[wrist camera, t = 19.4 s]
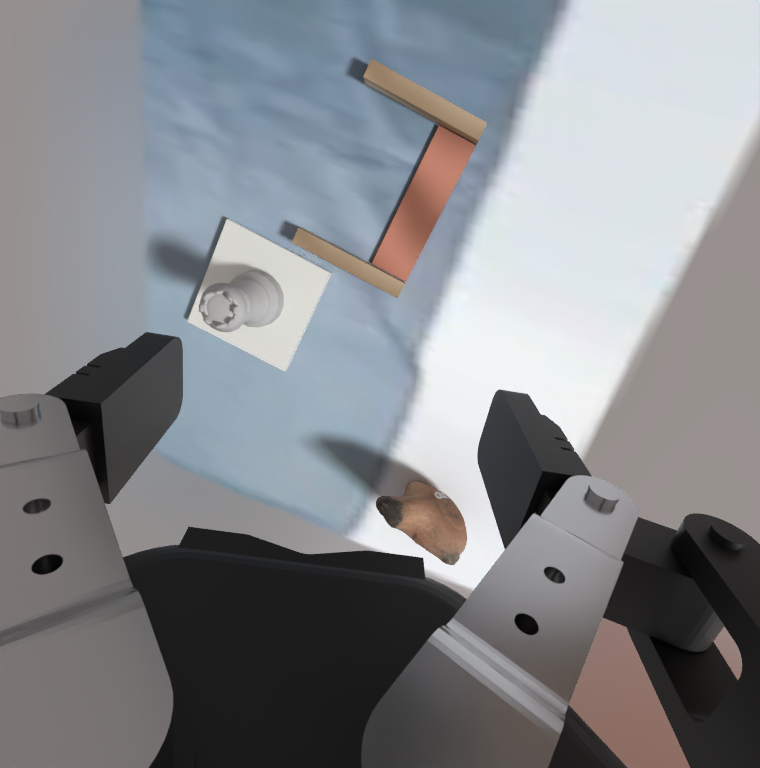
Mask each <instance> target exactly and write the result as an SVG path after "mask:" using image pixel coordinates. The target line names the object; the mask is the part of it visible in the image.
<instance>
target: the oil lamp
mask: <svg viewBox="0 0 760 768" xmlns="http://www.w3.org/2000/svg"><path fill="white" fill-rule="evenodd" d="M376 507H377V509H378V510H379V512H380V514H381V515H383V516H384V518H385V520H386V521H387V523H388V524H389V525H390V526H391V527H393V528H396V529H399V530H401V531H403V532H404V533H406V534H407V535H408V536H409V537H410V538H412V539H413V540H414V541H415V542H416V543H417V544H418V545H420V546H422V547H423V548H425V549H426V550H427V551H429V552H430V553H432V554H433V555H435V556H436V557H438V558H439V559H440V560H442V561H443V562H444V563H446V564H449V565H454V564H455V563H456V562H457V561H458V559H459V555H460V554H461V553H462V552H463V551H464V549H465V546H466V541H467V533H466V527H465V522H464V519H463V517H462V514H461V513H460V511H459V509H458V508H457V506H456V505H455V504H454V502H453V501H452V500H451V499H450V498H449V497H448V496H447V495H445V494H444V493H442V492H441V491H439V490H437V489H435V488H433V487H431V486H429V485H426V484H424V483H422V482H417V481H413V482H410V483H408V485H407V489H406V492H405V494H404V496H403V497H390V496H382V497H379V498H378V499H377V501H376Z"/></svg>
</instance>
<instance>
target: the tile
mask: <svg viewBox="0 0 760 768" xmlns="http://www.w3.org/2000/svg"><path fill="white" fill-rule="evenodd" d="M250 270H257V271H263V272H265V273H267V274H269V275H271V276H272V277H273V278H274V279H275V280H276V281H277V282H278V283H279V284H280V287H281V289H282V292H283V294H284V307H283V309H282V312H281V314H280V316H279V317H278V318H277V319H276V320H275V321H274V322H273V323H271V324H268V325H266V326H263V327H248V326H246V325H241V326H240V327H239V328H238V329H237V330H234V331H231V332H220V331H217V330H215V329H213V328H211V327H210V326H209V325H207V324H206V323H205V322H204V321H203V320H202V319H204V318H203V316H202V314H201V312H199V304H200V300H201V297H202V294H203V292H204V291H205V290H206V289H207V288H208V287H209V286H211V285H213V284H216V283H228V284H229V283H230V282H231V281H232V280H233V279H234V278H235V277H236V276H237V275H239V274H242V273H244V272H247V271H250ZM331 275H332V273H331V272H330V271H328V270H326V269H324V268H322V267H320V266H318V265H316V264H314V263H312V262H310V261H309V260H307V259H305V258H303V257H301V256H299V255H297V254H295V253H293V252H291V251H290V250H288V249H286V248H284V247H282V246H280V245H278V244H276V243H274V242H272V241H271V240H269V239H267V238H265V237H263V236H261V235H259V234H257V233H255V232H253V231H251V230H250V229H248V228H246V227H244V226H242V225H240V224H238V223H236V222H234V221H232V220H231V219H227V220H226V222H225V225H224V228H223V230H222V233H221V235H220V238H219V241H218V243H217V246H216V248H215V251H214V254H213V256H212V259H211V261H210V264H209V267H208V269H207V272H206V274H205V277H204V279H203V282H202V285H201V287H200V290H199V292H198V295H197V298H196V300H195V303H194V305H193V308H192V311H191V313H190V316H189V318H188V321H187V322H189V323H191V324H193V325H195V326H197V327H199V328H201V329H203V330H205V331H207V332H209V333H211V334H213V335H214V336H216V337H218V338H220V339H222V340H224V341H226V342H228V343H230V344H232V345H234V346H236V347H238V348H240V349H242V350H244V351H246V352H248V353H250V354H252V355H254V356H256V357H258V358H259V359H261V360H263V361H265V362H267V363H269V364H271V365H273V366H275V367H277V368H279V369H281V370H283V371H286V370H287V369H288V367H289V365H290V363H291V360H292V358H293V356H294V354H295V352H296V350H297V348H298V345H299V343H300V341H301V339H302V337H303V335H304V333H305V330H306V328H307V326H308V324H309V322H310V320H311V317H312V315H313V313H314V311H315V309H316V307H317V305H318V302H319V300H320V298H321V296H322V294H323V292H324V290H325V287H326V285H327V283H328V281H329V279H330V277H331Z"/></svg>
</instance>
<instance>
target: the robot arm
mask: <svg viewBox="0 0 760 768" xmlns="http://www.w3.org/2000/svg"><path fill="white" fill-rule="evenodd" d="M182 398H183V349H182V342H181V339H180V338H179V337H174V336H168V335H162V334H155V333H149V332H146V333H144V334H143V335H142V336H140V337H139V338H138V339H136V340H135V341H134V342H133V343H131V344H130V345H128V346H127V347H126V348H118V349H115V350H112V351H109V352H106V353H103V354H100V355H99V356H98V357H96V358H95V359H93V360H92V361H91V362H90V363H88V364H87V366H84V367H82V368H81V369H79V370H78V371H77V372H76V374H72V375H71V376H70V377H68V378H67V379H65V380H64V381H63V382H61V383H60V384H58V385H57V386H56V387H54V388H53V389H52V390H50V391H49V392H47V393H46V394H18V395H11V396H6V397H2V398H0V768H627V767H626V766H625V765H624V764H623V763H622V761H621V760H620V759H619V758H618V757H617V756H616V755H615V754H614V753H613V752H612V751H611V750H610V749H609V748H608V746H607V745H606V744H605V743H604V742H603V741H602V740H601V739H600V738H599V737H598V736H597V735H596V734H595V732H593V730H592V729H590V727H589V726H588V725H587V724H586V723H585V722H584V721H583V720H582V719H581V718H580V717H579V715H578V714H577V713H576V712H575V711H574V710H573V709H572V708H571V707H570V706H569V702H570V700H571V697H572V695H573V692H574V689H575V687H576V684H577V682H578V679H579V677H580V674H581V671H582V669H583V666H584V664H585V661H586V659H587V656H588V653H589V651H590V648H591V646H592V643H593V641H594V638H595V635H596V633H597V630H598V628H599V625H600V623H601V620H602V617H603V618H606V619H608V620H611V621H613V622H616V623H618V624H621V625H623V626H626V627H627V629H628V632H629V634H630V636H631V639H632V641H633V643H634V645H635V647H636V650H637V652H638V654H639V656H640V658H641V661H642V663H643V665H644V667H645V669H646V671H647V673H648V676H649V678H650V680H651V682H652V685H653V687H654V689H655V691H656V693H657V696H658V698H659V700H660V702H661V704H662V706H663V709H664V711H665V713H666V715H667V717H668V720H669V722H670V724H671V726H672V728H673V731H674V733H675V735H676V737H677V739H678V741H679V744H680V746H681V748H682V750H683V753H684V755H685V757H686V759H687V761H688V763H689V766H690V768H760V544H759V543H758V542H757V541H756V540H754V539H753V538H752V537H751V536H749V535H748V534H747V533H745V532H744V531H742V530H741V529H739V528H737V527H736V526H734V525H732V524H730V523H728V522H726V521H724V520H721V519H718V518H716V517H713V516H709V515H704V514H689V515H687V516H686V517H685V518H684V520H683V522H682V523H681V525H680V527H679V528H678V530H674V529H671V528H668V527H665V526H662V525H659V524H656V523H653V522H650V521H648V520H645V519H642V518H639V517H638V516H639V510H638V507H637V505H636V503H635V502H634V501H633V499H632V498H631V497H630V496H629V495H627V494H626V493H625V492H624V491H622V490H621V489H619V488H618V487H616V486H614V485H612V484H611V483H608V482H606V481H603V480H601V479H598V478H595V477H592V476H591V474H590V473H589V471H588V470H587V468H586V467H585V465H584V464H583V462H582V461H581V459H580V457H579V456H578V454H577V453H576V452H574V448H573V447H572V445H571V444H570V442H568V441H567V438H566V436H565V434H564V433H563V431H562V430H561V428H560V427H559V426H558V425H556V424H555V423H554V422H553V421H551V420H550V419H549V418H548V417H546V416H545V415H541V414H540V413H539V411H538V409H537V408H536V406H535V405H534V403H533V401H532V400H531V398H530V396H529V395H528V394H524V393H517V392H511V391H505V390H498V391H497V392H496V393H495V395H494V397H493V400H492V403H491V406H490V410H489V413H488V416H487V419H486V422H485V426H484V429H483V432H482V435H481V438H480V442H479V446H478V465H479V468H480V471H481V474H482V478H483V481H484V484H485V487H486V490H487V494H488V497H489V500H490V503H491V506H492V510H493V513H494V516H495V519H496V522H497V526H498V529H499V532H500V535H501V538H502V542H503V545H504V548H505V551H504V552H503V553H502V555H501V556H500V557H499V558H498V560H497V561H496V562H495V564H494V565H493V566H492V567H491V569H490V570H489V571H488V573H487V574H486V575H485V577H484V578H483V579H482V580H481V582H480V583H479V584H478V586H477V587H476V588H475V590H474V591H473V592H472V593H471V595H470V596H469V597H468V599H466V598H464V597H463V596H461V595H460V594H459V593H457V592H456V591H454V590H452V589H451V588H449V587H447V586H445V585H443V584H441V583H439V582H437V581H435V580H433V579H430V578H427V577H425V572H424V563H423V558H419V557H412V556H404V555H397V554H389V553H382V552H374V551H353V552H339V553H325V554H303V553H299V552H296V551H293V550H290V549H287V548H285V547H281V546H279V545H276V544H273V543H270V542H267V541H265V540H261V539H259V538H256V537H253V536H250V535H246V534H239V533H231V532H224V531H216V530H208V529H200V528H193V527H188V529H187V531H186V533H185V535H184V537H183V539H182V541H181V543H180V545H171V546H164V547H158V548H153V549H149V550H145V551H141V552H138V553H135V554H132V555H129V556H126V557H122V554H121V551H120V548H119V545H118V542H117V539H116V536H115V533H114V530H113V527H112V524H111V521H110V518H109V515H108V512H107V509H106V506H105V503H107V504H110V503H111V502H112V501H113V499H114V498H115V497H116V496H117V494H118V493H119V492H120V490H121V489H122V488H123V486H124V485H125V484H126V483H127V481H128V480H129V479H130V478H131V476H132V475H133V474H134V472H135V471H136V470H137V468H138V467H139V466H140V464H141V463H142V462H143V461H144V459H145V458H146V457H147V456H148V454H149V453H150V452H151V450H152V449H153V448H154V447H155V445H156V444H157V443H158V441H159V440H160V439H161V438H162V436H163V435H164V434H165V432H166V431H167V430H168V429H169V427H170V426H171V425H172V423H173V422H174V421H175V419H176V418H177V416H178V414H179V412H180V408H181V405H182ZM724 626H725V627H726V629H727V630H728V632H729V633H730V635H731V636H732V638H733V639H734V641H735V642H736V644H737V646H738V648H739V650H740V653H741V657H742V673H741V676H740V678H739V680H737V679H736V677H735V675H734V674H733V672H732V671H731V669H730V667H729V666H728V664H727V663H726V661H725V659H724V658H723V656H722V655H721V653H720V651H719V650H718V648H717V647H716V645H715V644H714V642H713V641H714V640H715V638H716V637H717V636H718V634H719V633H720V631H721V630H722V629H723V627H724Z"/></svg>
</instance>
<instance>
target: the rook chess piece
mask: <svg viewBox="0 0 760 768" xmlns="http://www.w3.org/2000/svg"><path fill="white" fill-rule="evenodd" d="M283 307H284V294H283V292H282V289H281V287H280V284H279V283H278V282H277V281H276V280H275V279H274V278H273V277H272V276H271V275H269V274H267V273H265V272H263V271H257V270H250V271H247V272H244V273H242V274H239V275H237V276H236V277H235V278H234V279H233V280H232V281H231V282H230V283H229V284H228V283H216V284H213V285H211V286H209V287H208V288H207V289H206V290H205V291H204V292H203V294H202V297H201V300H200V304H199V312H201V314H202V316H203V318H204V319H202V320H203V321H204V322H205V323H206V324H207V325H209V326H210V327H211V328H213V329H215V330H217V331H220V332H231V331H234V330H237V329H238V328H239V327H240V326H241V325H246V326H248V327H263V326H266V325H268V324H271V323H273V322H274V321H275V320H276V319H277V318H278V317H279V316H280V314H281V312H282V309H283Z"/></svg>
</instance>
